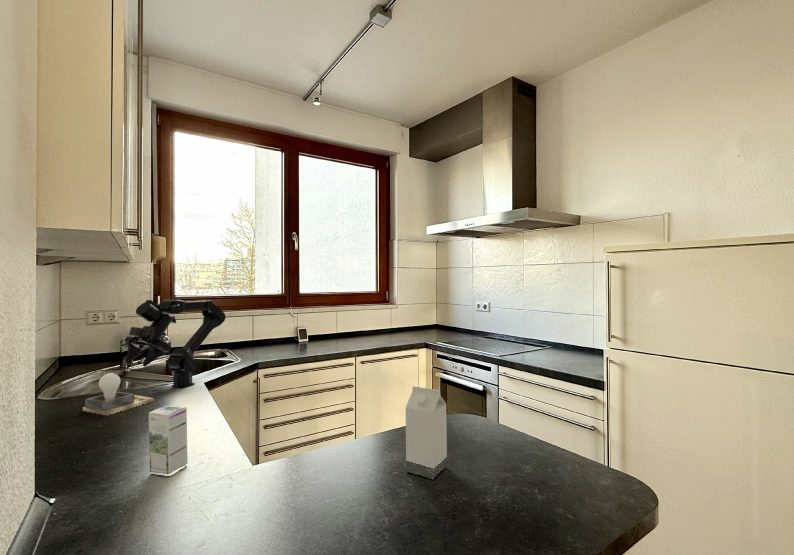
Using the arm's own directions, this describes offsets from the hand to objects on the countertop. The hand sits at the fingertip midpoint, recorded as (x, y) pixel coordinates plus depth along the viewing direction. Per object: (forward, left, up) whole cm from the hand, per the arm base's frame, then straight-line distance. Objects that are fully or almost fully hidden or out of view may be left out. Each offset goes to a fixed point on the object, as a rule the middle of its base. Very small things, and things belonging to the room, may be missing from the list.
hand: (134, 364), depth 144 cm
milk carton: (+10, +117, -13) cm, 119 cm away
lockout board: (+6, +1, -13) cm, 15 cm away
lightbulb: (+9, +1, -12) cm, 15 cm away
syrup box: (+32, +61, -13) cm, 71 cm away
